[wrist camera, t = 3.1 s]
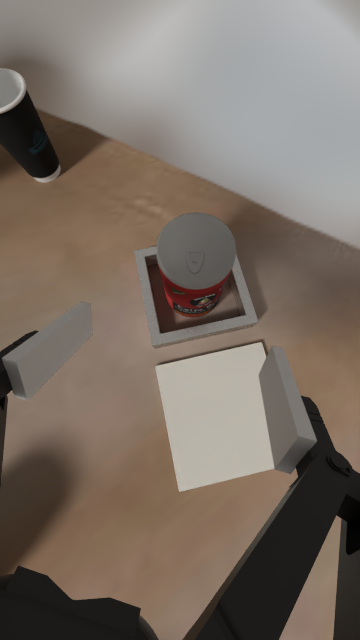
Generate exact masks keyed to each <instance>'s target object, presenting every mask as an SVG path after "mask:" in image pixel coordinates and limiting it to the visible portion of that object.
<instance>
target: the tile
mask: <svg viewBox="0 0 360 640" xmlns="http://www.w3.org/2000/svg"><path fill="white" fill-rule="evenodd" d="M265 359H266V354H265V351H264V348H263V345H262V342H259V343H255V344H251V345H246V346H242V347H237V348H233V349H229V350H224V351H220V352H215V353H211V354H207V355H202V356H198V357H193V358H189V359H185V360H180V361H176V362H171V363H167V364H163V365H158V366H155V367H156V372H157V377H158V383H159V388H160V393H161V398H162V404H163V409H164V414H165V420H166V425H167V430H168V436H169V441H170V446H171V451H172V457H173V462H174V467H175V473H176V478H177V483H178V488H179V492H181V491H185V490H189V489H193V488H197V487H201V486H205V485H209V484H213V483H217V482H221V481H225V480H229V479H233V478H238V477H242V476H246V475H250V474H254V473H258V472H262V471H266V470H270V469H274V462H273V457H272V451H271V445H270V439H269V433H268V428H267V422H266V416H265V410H264V404H263V398H262V393H261V387H260V381H259V373H260V370H261V368H262V366H263V364H264V362H265Z"/></svg>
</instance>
